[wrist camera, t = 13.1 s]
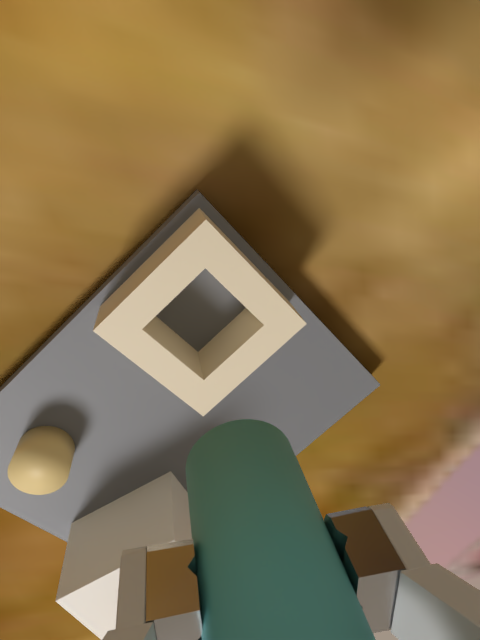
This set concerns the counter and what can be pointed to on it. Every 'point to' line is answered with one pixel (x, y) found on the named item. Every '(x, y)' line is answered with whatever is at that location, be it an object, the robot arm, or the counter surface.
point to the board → (166, 372)
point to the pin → (264, 543)
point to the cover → (117, 547)
